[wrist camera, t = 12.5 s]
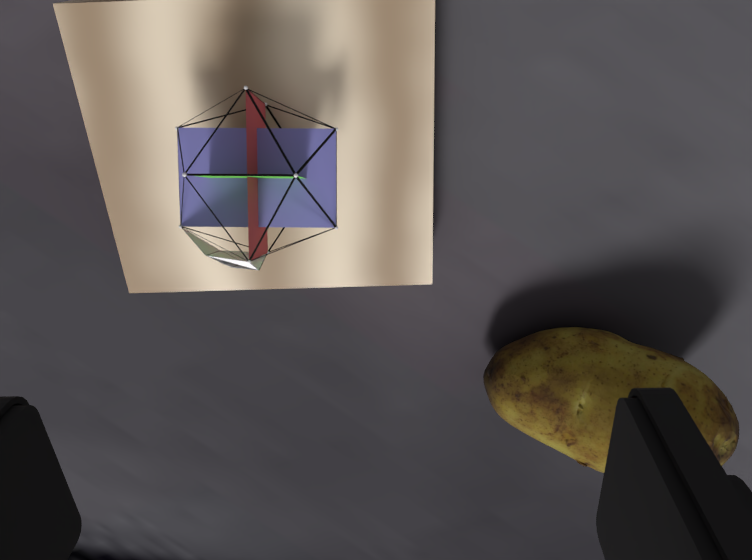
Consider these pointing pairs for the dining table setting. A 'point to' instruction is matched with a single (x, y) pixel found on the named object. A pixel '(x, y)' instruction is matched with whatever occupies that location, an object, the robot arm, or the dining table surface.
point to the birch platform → (284, 85)
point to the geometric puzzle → (256, 180)
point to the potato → (596, 390)
